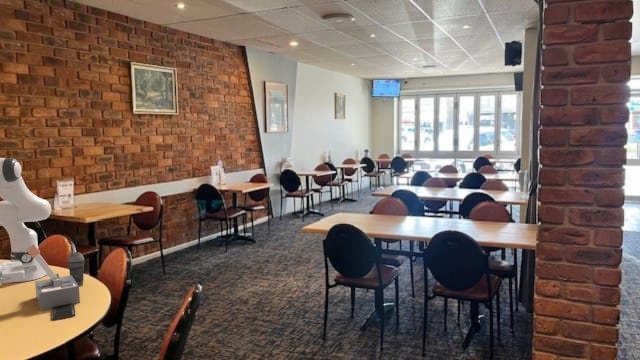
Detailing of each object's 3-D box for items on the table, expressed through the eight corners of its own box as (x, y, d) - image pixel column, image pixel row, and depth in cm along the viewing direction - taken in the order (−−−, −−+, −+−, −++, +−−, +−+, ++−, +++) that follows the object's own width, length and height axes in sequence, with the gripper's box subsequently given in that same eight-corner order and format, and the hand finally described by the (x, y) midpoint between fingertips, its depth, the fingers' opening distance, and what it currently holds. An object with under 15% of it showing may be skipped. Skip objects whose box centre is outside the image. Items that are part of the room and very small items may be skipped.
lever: (52, 282, 200) (26, 248, 194) (60, 277, 202) (34, 244, 195) (55, 286, 194) (27, 252, 187) (62, 282, 195) (35, 247, 189)
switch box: (36, 297, 202) (34, 274, 201) (72, 290, 210) (71, 268, 209) (40, 310, 186) (38, 286, 185) (80, 302, 194) (78, 279, 193)
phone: (74, 303, 192) (75, 314, 179) (74, 305, 192) (75, 317, 179) (51, 306, 188) (51, 319, 175) (52, 309, 188) (51, 321, 175)
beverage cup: (79, 288, 213) (75, 244, 212) (65, 287, 215) (61, 244, 213) (89, 283, 221) (86, 241, 219) (76, 282, 222) (73, 241, 220)
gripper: (-5, 272, 176) (38, 266, 184) (-6, 261, 193) (33, 255, 201) (-3, 289, 177) (39, 281, 185) (-4, 276, 194) (35, 270, 202)
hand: (36, 268), depth 193 cm, fingers closed
